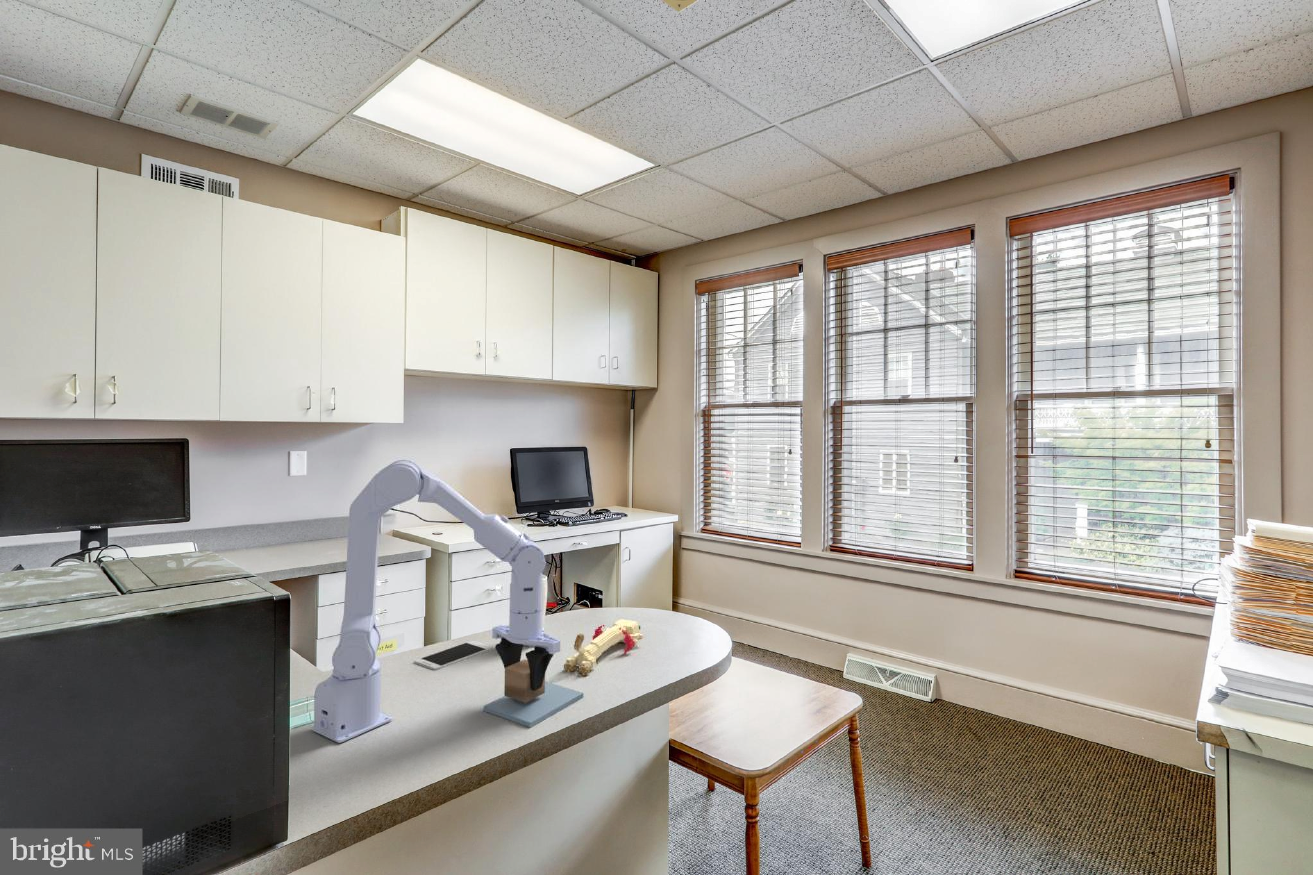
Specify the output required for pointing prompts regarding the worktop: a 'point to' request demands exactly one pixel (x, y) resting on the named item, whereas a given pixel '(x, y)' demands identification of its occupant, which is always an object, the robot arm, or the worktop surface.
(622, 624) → the cream long lumpy piece
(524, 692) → the walnut cube
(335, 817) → the worktop surface
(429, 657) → the smartphone
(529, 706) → the slate board
